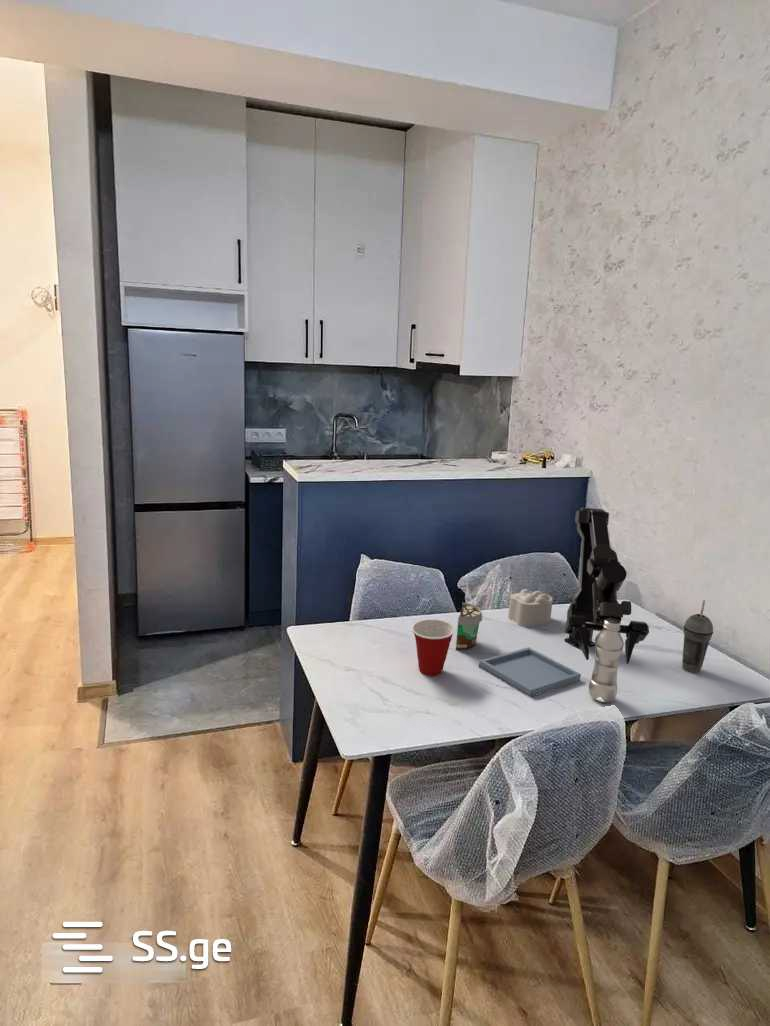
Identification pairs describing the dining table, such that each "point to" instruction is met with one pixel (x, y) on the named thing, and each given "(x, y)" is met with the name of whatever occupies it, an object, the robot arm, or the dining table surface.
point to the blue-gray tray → (529, 671)
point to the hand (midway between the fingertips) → (607, 661)
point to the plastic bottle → (606, 661)
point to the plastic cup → (432, 644)
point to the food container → (468, 626)
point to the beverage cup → (696, 641)
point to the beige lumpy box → (530, 608)
